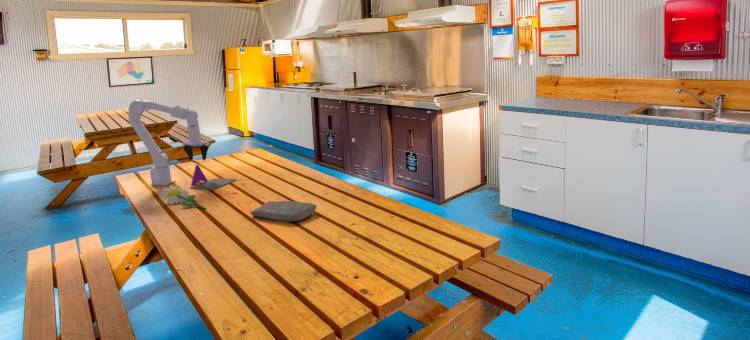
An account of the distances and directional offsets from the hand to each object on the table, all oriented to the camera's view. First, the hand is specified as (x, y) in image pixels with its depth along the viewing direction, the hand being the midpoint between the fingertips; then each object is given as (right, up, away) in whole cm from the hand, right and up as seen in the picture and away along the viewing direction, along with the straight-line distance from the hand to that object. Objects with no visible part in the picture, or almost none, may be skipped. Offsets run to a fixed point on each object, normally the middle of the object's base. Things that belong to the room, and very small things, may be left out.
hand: (197, 159), depth 271 cm
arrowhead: (+3, -12, -7) cm, 15 cm away
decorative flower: (+10, -21, -42) cm, 48 cm away
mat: (+12, -12, -10) cm, 20 cm away
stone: (+55, -24, -66) cm, 90 cm away
